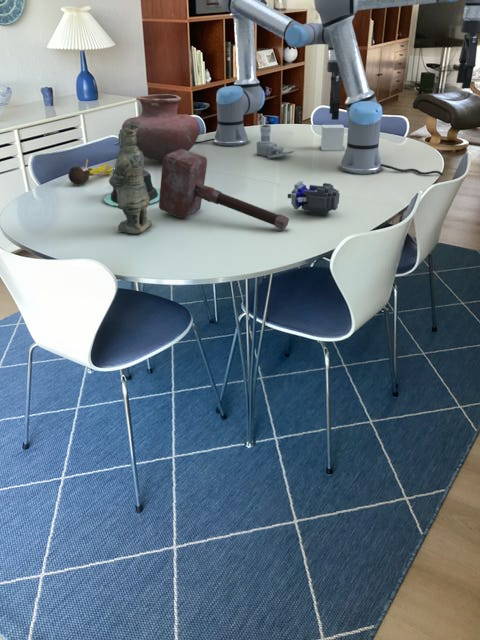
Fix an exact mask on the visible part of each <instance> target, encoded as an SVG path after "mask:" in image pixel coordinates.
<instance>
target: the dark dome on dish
mask: <svg viewBox="0 0 480 640" xmlns="http://www.w3.org/2000/svg"><path fill="white" fill-rule="evenodd" d="M113 175H114V171H112V172H111V176H113ZM143 178H144V182H145V184H146V188H147V192H148V195H149V197H150V204H154V203H157V202H159V198H160V188H156V187H154V185H153V182H152V174H151V172H149V171H148V170H146V169H144V168H143ZM103 200H104V202H105V203H106V204H108V205H109V206H115V207H118V202H117V192H116V189H115V188H114V187H112V191H111V193H108V194H107V195H106V196H104V198H103ZM150 204H149V205H150Z"/></svg>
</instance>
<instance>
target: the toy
mask: <svg viewBox="0 0 480 640" xmlns="http://www.w3.org/2000/svg"><path fill="white" fill-rule="evenodd" d="M293 187H294V188H293V189H292V191H291V193H288V194H287V199H291V200H290V201H291V202H290V203H291V206H292V207H293V210H298V209H299V208H301V210H303V211H306V212H307V214H310V215H311V214H312V215H318V216H326V215H328V213H330V212H331V211H336V210H337V209H338V205H339V204H340V194H341V193H340V190H338V189H337V188H335V187H334V184H332V183H328V182H324V183H322V185H315V184H310V185H309V186H308V187H309V188H308V187H307V185H306V184H305V183H304V181H301V180H299V181H298V182H296V183H295V184H294V186H293Z"/></svg>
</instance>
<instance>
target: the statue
mask: <svg viewBox="0 0 480 640" xmlns="http://www.w3.org/2000/svg"><path fill="white" fill-rule="evenodd" d="M138 127H139V123H138V122H137V121H133V122H131V123H128V124H127V125H126V126H125V127H124V128H123V129H122V128H121V129H119V133H118V139H117V141H119V143H118V146H119V152H118V154H117V156H116V160H115V164H114V166H115V170H113V172H114V175H113V176H112V175H111V176H110V177H109V180H108V183H109V184H110V186H111V187H112V188H113V187H114V188H115V189H116V192H117V202H118V206H117V209H119V210H122V213H123V214H124V215H125V218H126V219H125V220H122V221H120V222H119V224H118V225H117V231H118V232H121V233H126V234H134V235H136V234H142V233H143V232H145V231H146V230H147V229H148V228H150V227H151V226H152V225H153V223H152V220H150V219H148V216H147V214H148V213H147V212H148V211H147V209H148V206H149V205H150V197H149V195H148V192H147V188H146V184H145V182H144V178H143V169H144V165H145V157H144V156H143V153H142V151H141V150H139V149H138V147H137V146H136V143H137V138H136V131H137V130H138Z"/></svg>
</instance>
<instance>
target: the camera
mask: <svg viewBox="0 0 480 640" xmlns="http://www.w3.org/2000/svg"><path fill="white" fill-rule="evenodd" d="M271 131H272V126H271V125H270V124H260V125H259V132H260V140H259V141H257V142H256V155H257V156H262V157H267V159H272V158H278V157H283V156H287V155H291V154H292V153H294V152H295V151H294V150H290V151H289V150H288V151H284V148H283V147H280V146H279V145H278V143H276V142H271V133H272V132H271Z"/></svg>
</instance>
